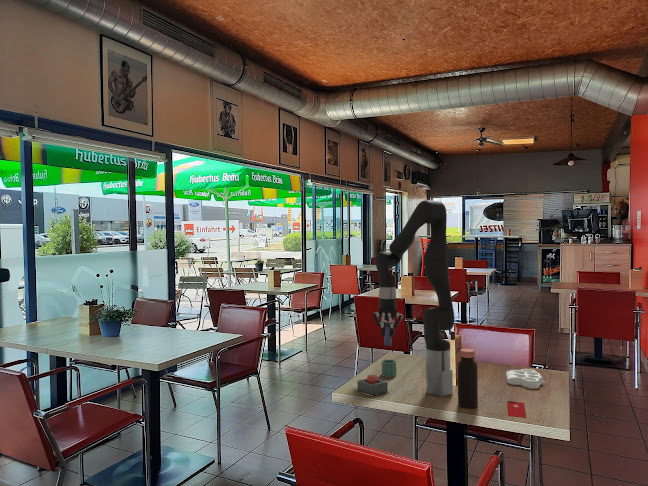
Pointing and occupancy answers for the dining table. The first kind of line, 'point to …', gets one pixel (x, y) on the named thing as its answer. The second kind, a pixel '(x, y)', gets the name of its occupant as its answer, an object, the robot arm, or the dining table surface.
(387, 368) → the pen cup
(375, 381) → the button
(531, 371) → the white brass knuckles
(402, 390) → the dining table surface
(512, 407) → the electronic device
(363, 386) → the button console
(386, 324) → the marker
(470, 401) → the bottle
